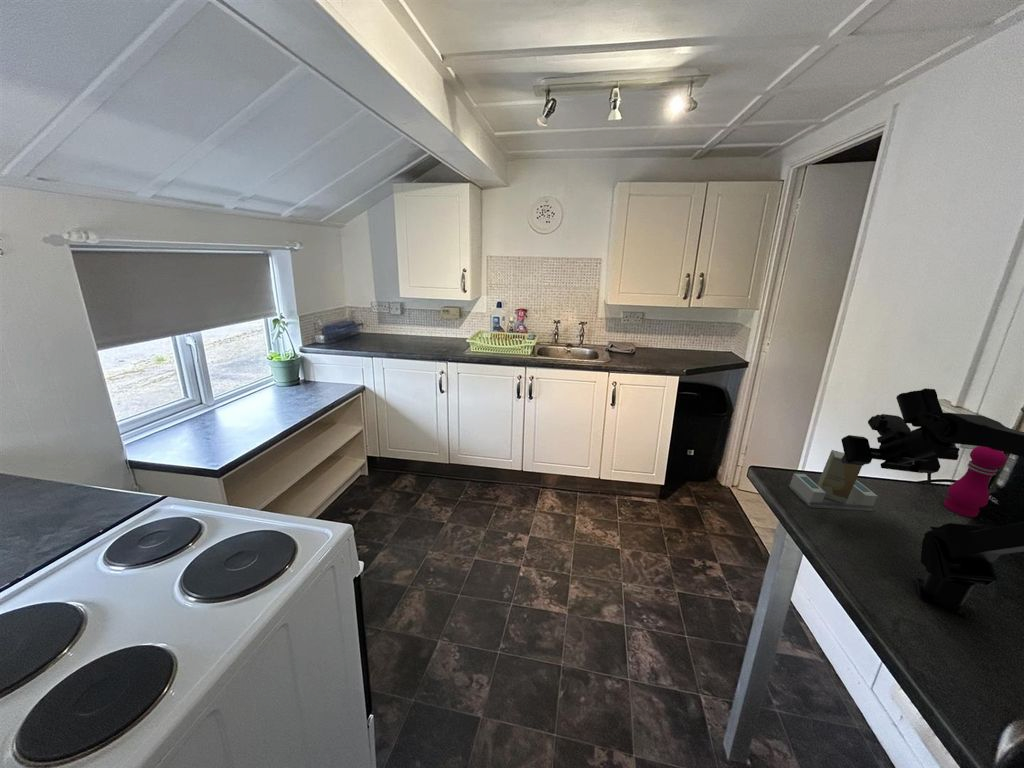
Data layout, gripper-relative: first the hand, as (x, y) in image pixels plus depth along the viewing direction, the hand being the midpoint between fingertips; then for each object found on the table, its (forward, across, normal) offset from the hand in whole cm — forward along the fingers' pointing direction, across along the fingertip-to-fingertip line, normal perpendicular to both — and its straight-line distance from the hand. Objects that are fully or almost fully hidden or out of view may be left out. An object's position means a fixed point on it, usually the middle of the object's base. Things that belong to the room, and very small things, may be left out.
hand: (861, 463), depth 101 cm
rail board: (+12, +1, +6) cm, 14 cm away
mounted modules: (+12, +1, +6) cm, 14 cm away
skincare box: (+12, +1, +6) cm, 13 cm away
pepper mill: (+12, -32, +5) cm, 35 cm away
